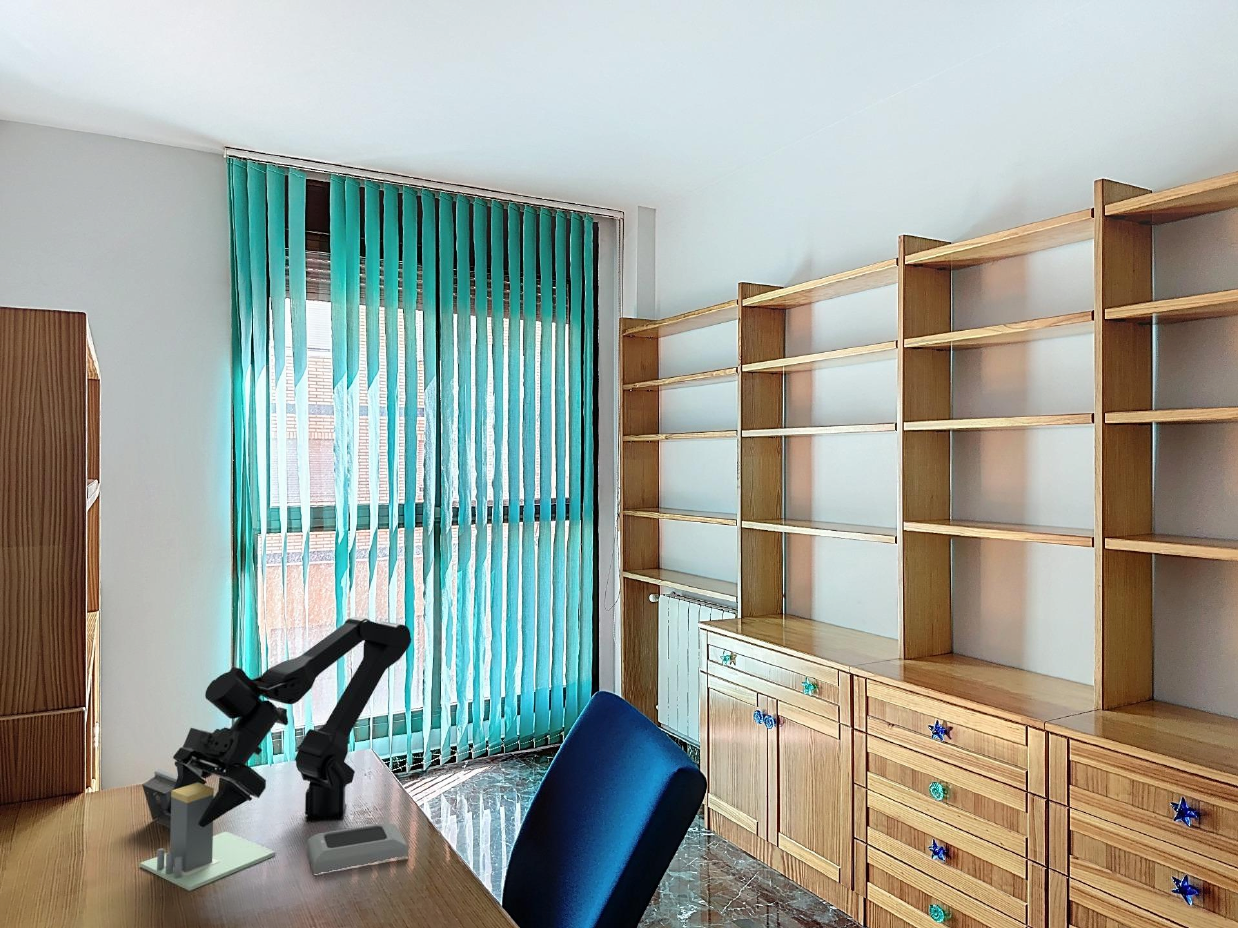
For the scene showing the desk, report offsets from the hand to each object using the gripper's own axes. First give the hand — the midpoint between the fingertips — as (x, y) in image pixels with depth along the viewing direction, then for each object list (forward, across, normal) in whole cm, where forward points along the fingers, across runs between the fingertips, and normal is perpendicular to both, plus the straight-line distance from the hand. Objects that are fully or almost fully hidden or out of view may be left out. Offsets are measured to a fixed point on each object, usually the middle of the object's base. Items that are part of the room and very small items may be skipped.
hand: (183, 818), depth 140 cm
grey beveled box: (-8, +18, +20) cm, 28 cm away
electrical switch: (0, -19, +12) cm, 23 cm away
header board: (+3, 0, +9) cm, 9 cm away
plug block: (+4, 0, +6) cm, 8 cm away
